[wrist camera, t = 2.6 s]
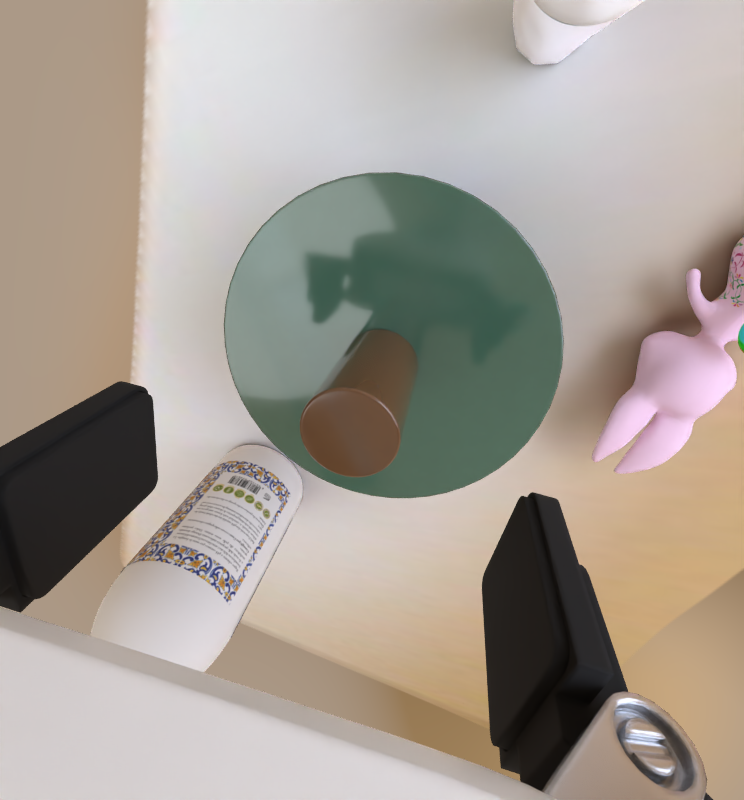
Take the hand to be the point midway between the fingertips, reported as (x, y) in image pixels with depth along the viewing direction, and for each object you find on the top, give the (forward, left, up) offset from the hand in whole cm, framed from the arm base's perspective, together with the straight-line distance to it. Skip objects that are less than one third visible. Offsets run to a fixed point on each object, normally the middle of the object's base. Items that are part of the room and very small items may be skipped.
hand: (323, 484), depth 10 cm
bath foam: (+16, -8, -17) cm, 24 cm away
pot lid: (0, 0, -8) cm, 8 cm away
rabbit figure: (-2, +15, -17) cm, 23 cm away
